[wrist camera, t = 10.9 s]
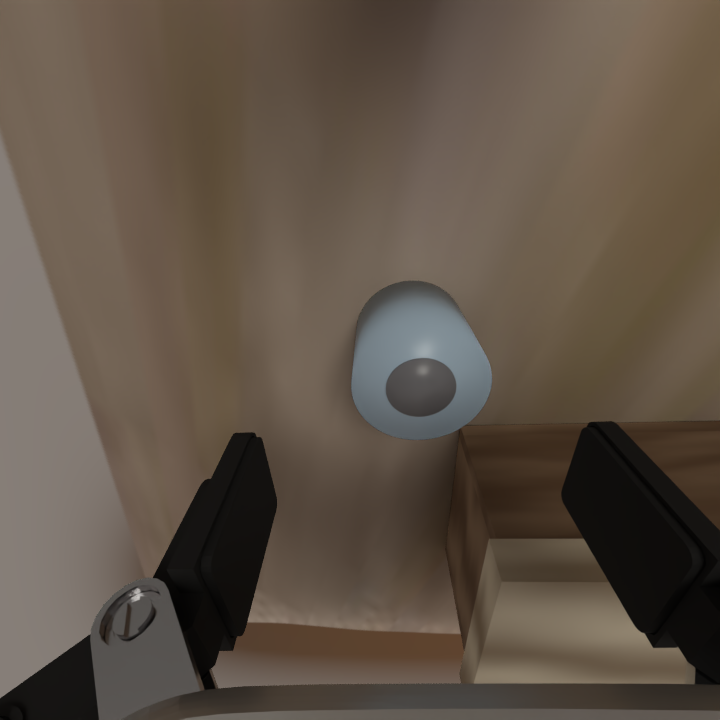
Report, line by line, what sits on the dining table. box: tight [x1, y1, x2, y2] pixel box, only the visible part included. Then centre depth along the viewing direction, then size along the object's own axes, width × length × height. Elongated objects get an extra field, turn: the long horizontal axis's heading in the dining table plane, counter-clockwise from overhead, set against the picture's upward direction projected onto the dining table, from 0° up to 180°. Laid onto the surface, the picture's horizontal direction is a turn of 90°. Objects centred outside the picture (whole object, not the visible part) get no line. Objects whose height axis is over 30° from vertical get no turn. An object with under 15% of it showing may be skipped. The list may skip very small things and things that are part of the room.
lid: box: [460, 539, 686, 684], centre depth 15 cm, size 13×17×3 cm
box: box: [446, 421, 720, 651], centre depth 20 cm, size 12×16×7 cm
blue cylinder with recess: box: [351, 281, 492, 440], centre depth 15 cm, size 5×5×5 cm
